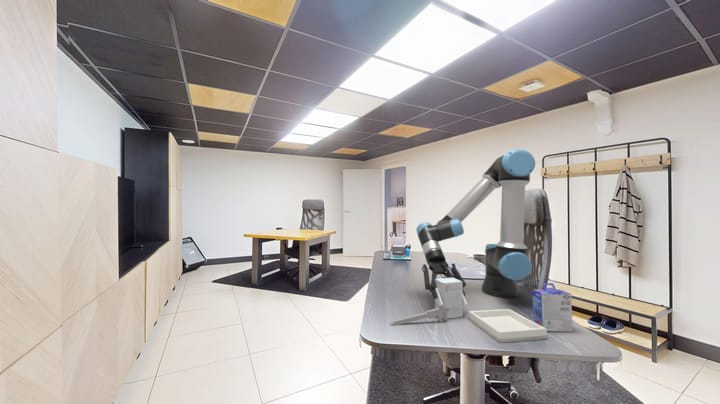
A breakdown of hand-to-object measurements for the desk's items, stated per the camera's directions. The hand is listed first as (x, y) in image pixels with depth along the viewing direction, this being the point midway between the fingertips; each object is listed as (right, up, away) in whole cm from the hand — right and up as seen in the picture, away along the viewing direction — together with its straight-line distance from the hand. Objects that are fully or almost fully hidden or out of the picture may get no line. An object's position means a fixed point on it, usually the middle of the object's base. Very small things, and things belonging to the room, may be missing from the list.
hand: (453, 305), depth 93 cm
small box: (0, -5, +3) cm, 6 cm away
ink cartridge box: (+30, -5, -7) cm, 32 cm away
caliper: (-13, -5, -4) cm, 14 cm away
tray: (+14, -4, -8) cm, 17 cm away
